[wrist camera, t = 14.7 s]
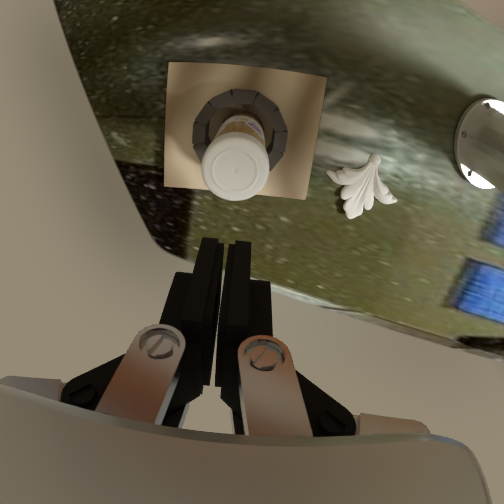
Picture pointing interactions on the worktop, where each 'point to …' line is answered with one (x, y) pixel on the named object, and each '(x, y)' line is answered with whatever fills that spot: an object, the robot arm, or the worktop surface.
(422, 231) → the worktop surface
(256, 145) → the sprinkles bottle
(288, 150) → the socket board
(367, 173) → the acanthus leaf ornament
